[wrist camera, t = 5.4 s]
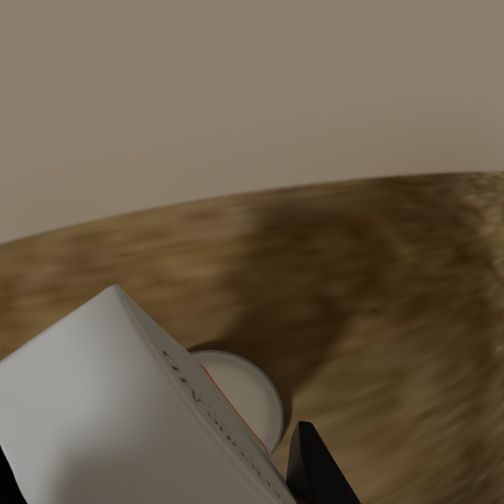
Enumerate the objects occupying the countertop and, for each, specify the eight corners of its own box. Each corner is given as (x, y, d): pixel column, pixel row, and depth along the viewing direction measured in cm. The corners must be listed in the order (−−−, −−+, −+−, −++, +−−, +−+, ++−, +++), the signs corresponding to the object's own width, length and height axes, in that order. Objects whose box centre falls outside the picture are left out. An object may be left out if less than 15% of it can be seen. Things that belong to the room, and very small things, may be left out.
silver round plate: (308, 398, 19) (311, 399, 18) (231, 501, 15) (230, 507, 14) (196, 326, 21) (194, 322, 20) (122, 424, 17) (115, 425, 16)
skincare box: (272, 449, 13) (337, 557, 3) (205, 490, 12) (138, 629, 2) (202, 359, 16) (115, 271, 5) (139, 400, 14) (-34, 379, 4)
